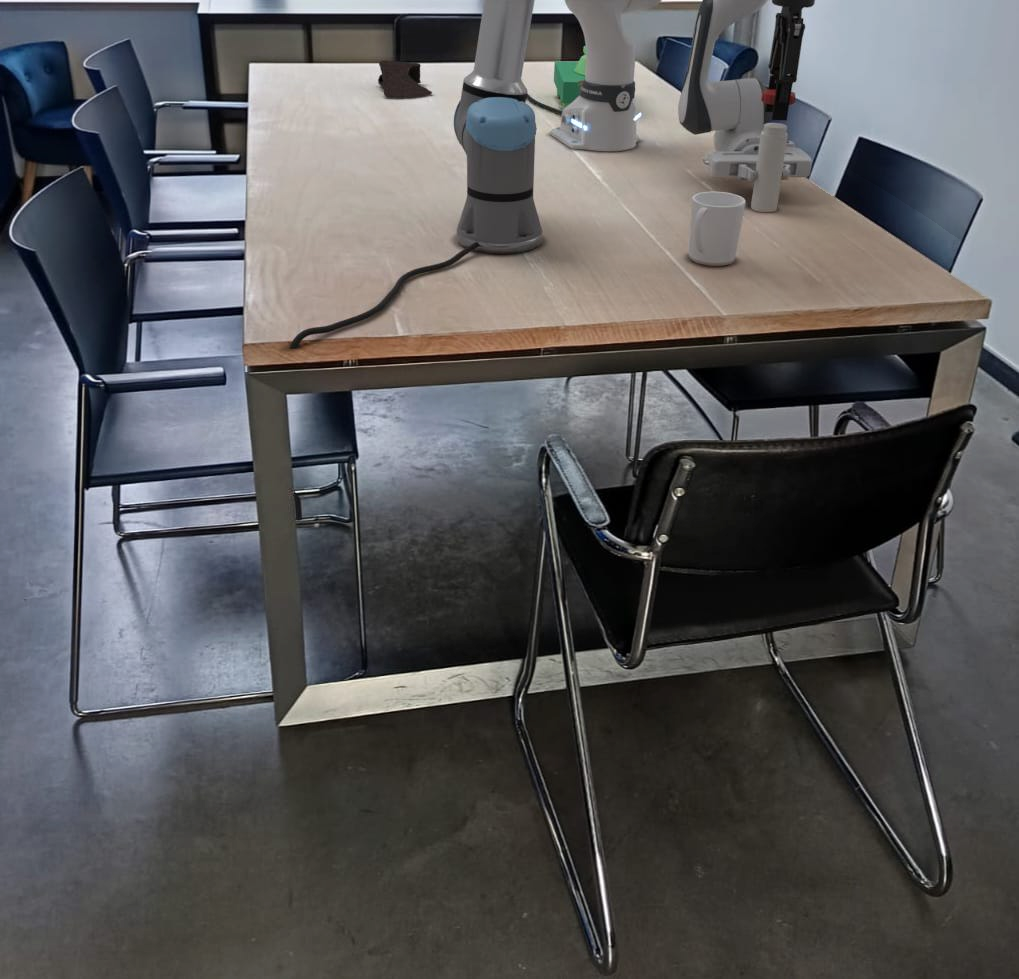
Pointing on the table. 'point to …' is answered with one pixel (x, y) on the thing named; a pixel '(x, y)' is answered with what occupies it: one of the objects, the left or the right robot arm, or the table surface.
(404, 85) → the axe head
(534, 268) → the table surface
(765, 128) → the jar
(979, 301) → the table surface
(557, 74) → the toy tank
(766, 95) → the lid
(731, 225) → the mug
